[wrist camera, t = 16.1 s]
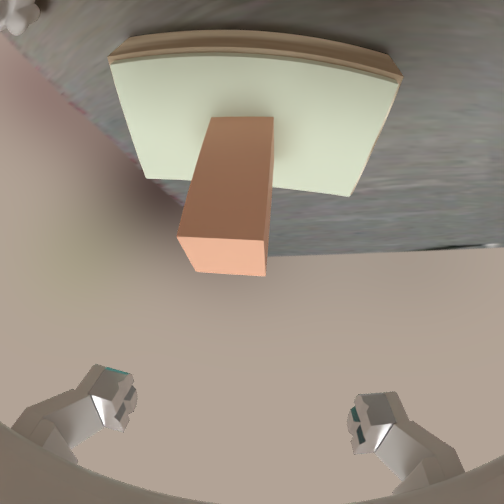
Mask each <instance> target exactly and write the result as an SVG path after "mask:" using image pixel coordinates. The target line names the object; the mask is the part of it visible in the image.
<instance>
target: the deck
mask: <svg viewBox="0 0 504 504" xmlns="http://www.w3.org/2000/svg"><path fill="white" fill-rule="evenodd" d="M108 61H109V64H110V68H111V72H112V75H113V79H114V82H115V86H116V89H117V93H118V96H119V99H120V103H121V106H122V109H123V112H124V116H125V119H126V122H127V125H128V128H129V131H130V134H131V137H132V140H133V143H134V146H135V149H136V152H137V155H138V157H139V160H140V163H141V166H142V169H143V171H144V174H145V177H146V178H148V179H174V180H192V177H193V173H194V170H195V167H196V163H197V160H198V157H199V153H200V150H201V147H202V144H203V141H204V138H205V134H206V131H207V128H208V125H209V122H210V119H211V117H274V169H273V184H272V187H278V188H287V189H295V190H303V191H311V192H319V193H326V194H334V195H341V196H347V197H349V196H350V195H352V193H353V191H354V189H355V187H356V184H357V182H358V180H359V178H360V176H361V174H362V172H363V170H364V168H365V165H366V163H367V161H368V159H369V157H370V155H371V152H372V150H373V148H374V146H375V144H376V141H377V139H378V137H379V135H380V132H381V130H382V128H383V125H384V123H385V121H386V119H387V116H388V114H389V111H390V109H391V107H392V104H393V102H394V99H395V97H396V95H397V92H398V90H399V87H400V85H401V82H402V79H403V77H404V76H403V75H402V73H401V72H400V70H399V69H398V68H397V66H396V65H395V63H394V62H393V60H392V59H391V58H390V56H389V55H387V54H384V53H380V52H377V51H373V50H370V49H366V48H362V47H358V46H354V45H350V44H346V43H341V42H336V41H331V40H326V39H321V38H315V37H309V36H302V35H295V34H287V33H277V32H266V31H251V30H192V31H177V32H166V33H156V34H148V35H141V36H135V37H129V38H128V39H127V40H126V41H124V42H123V43H122V44H121V45H120V46H119V47H118V48H116V49H115V50H114V51H113V52H112V53H111V54H110V55H109V56H108Z"/></svg>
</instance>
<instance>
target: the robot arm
mask: <svg viewBox="0 0 504 504" xmlns="http://www.w3.org/2000/svg"><path fill="white" fill-rule="evenodd" d="M133 382H134V379H133V376H132V374H130V373H127V372H123V371H119V370H116V369H112V368H109V367H105V366H101V365H98V364H95V365H93V366H92V368H91V369H90V370H89V372H88V373H87V375H86V376H85V377H84V379H83V380H82V381H81V383H80V384H79V386H78V387H77V388H76V390H74V389H71V390H69V391H66V392H64V393H62V394H59V395H57V396H54V397H52V398H50V399H47V400H45V401H42V402H40V403H38V404H35V405H32V406H30V407H27V408H26V409H25V410H24V412H23V413H22V414H21V416H20V417H19V418H18V419H17V421H16V422H15V423H14V425H13V426H12V427H11V428H9V427H7V426H6V425H5V424H3V423H2V422H0V504H217V503H210V502H203V501H197V500H191V499H186V498H181V497H176V496H171V495H167V494H163V493H158V492H155V491H151V490H147V489H144V488H140V487H137V486H133V485H130V484H127V483H124V482H121V481H118V480H115V479H112V478H109V477H107V476H104V475H101V474H99V473H96V472H93V471H91V470H89V469H86V468H84V467H82V466H79V465H77V463H78V460H77V458H76V457H75V455H74V454H73V452H72V451H71V449H72V448H74V447H76V446H77V445H79V444H80V443H82V442H83V441H85V440H86V439H88V438H89V437H91V436H92V435H94V434H95V433H97V432H98V431H100V430H101V429H103V428H104V427H107V428H110V429H113V430H117V431H120V432H124V430H125V428H126V426H127V424H128V422H129V417H128V414H130V413H132V412H134V409H135V407H136V404H137V391H136V389H135V388H134V387H133V386H132V384H133ZM354 403H355V406H354V407H353V408H352V409H350V412H349V414H348V420H347V426H348V431H349V433H351V434H352V435H353V438H352V440H351V444H352V448H353V453H354V454H364V453H375V455H376V456H377V457H378V458H379V459H380V460H381V461H382V462H383V463H384V464H385V465H386V466H387V467H388V468H389V469H390V470H391V471H392V472H393V473H394V474H395V475H396V476H397V477H398V478H399V479H400V480H401V481H402V483H401V484H399V486H398V487H396V488H395V490H394V491H393V492H392V493H393V496H388V497H383V498H378V499H373V500H368V501H361V502H355V503H348V504H504V455H502V456H500V457H498V458H496V459H494V460H492V461H490V462H488V463H486V464H484V465H482V466H479V467H477V468H475V469H473V470H470V471H468V472H465V471H464V469H463V466H462V464H461V462H460V460H459V457H458V455H457V453H456V451H455V449H454V448H452V447H451V446H449V445H448V444H446V443H445V442H443V441H442V440H440V439H439V438H437V437H436V436H434V435H433V434H431V433H430V432H428V431H427V430H425V429H424V428H423V427H421V426H420V425H418V424H417V423H415V422H414V421H409V419H408V417H407V414H406V412H405V410H404V407H403V405H402V403H401V401H400V399H399V396H398V394H397V393H396V392H384V393H371V394H358V395H357V396H356V398H355V401H354Z"/></svg>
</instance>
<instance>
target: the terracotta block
mask: <svg viewBox="0 0 504 504" xmlns="http://www.w3.org/2000/svg"><path fill="white" fill-rule="evenodd" d="M273 169H274V117H211V119H210V122H209V125H208V128H207V131H206V134H205V138H204V141H203V144H202V147H201V150H200V153H199V157H198V160H197V163H196V167H195V170H194V173H193V177H192V180H191V184H190V187H189V191H188V194H187V198H186V202H185V205H184V209H183V213H182V217H181V221H180V225H179V229H178V232H177V238H178V240H179V242H180V244H181V245H182V248H183V249H184V251H185V253H186V254H187V256H188V258H189V260H190V262H191V263H192V265H193V267H194V269H195V271H196V272H207V273H222V274H236V275H251V276H266V265H267V253H268V240H269V226H270V212H271V198H272V184H273Z"/></svg>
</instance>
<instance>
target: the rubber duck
mask: <svg viewBox="0 0 504 504" xmlns="http://www.w3.org/2000/svg"><path fill="white" fill-rule="evenodd" d="M34 3H35V0H0V32H1V31H3V30H4V29H6V28H8V30H9V31H10V32H11V33H12V34H13V35H15V36H17V35H20V34H22V33H23V32H24V31H25V30H26V29H27V27H28V26H29V24H31V23H33V22H35V21H37V20H38V18H39V16H40V9H39V7H38V6H37V5H36V4H34Z"/></svg>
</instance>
